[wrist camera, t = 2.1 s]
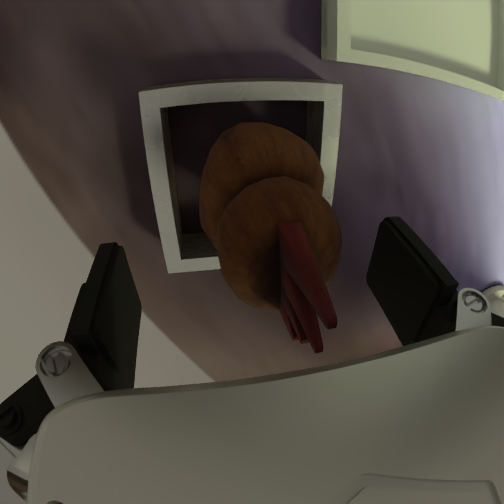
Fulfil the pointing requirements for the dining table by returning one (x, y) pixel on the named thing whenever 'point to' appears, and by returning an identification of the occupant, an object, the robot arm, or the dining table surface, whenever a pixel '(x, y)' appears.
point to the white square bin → (224, 90)
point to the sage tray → (420, 38)
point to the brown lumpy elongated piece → (272, 225)
